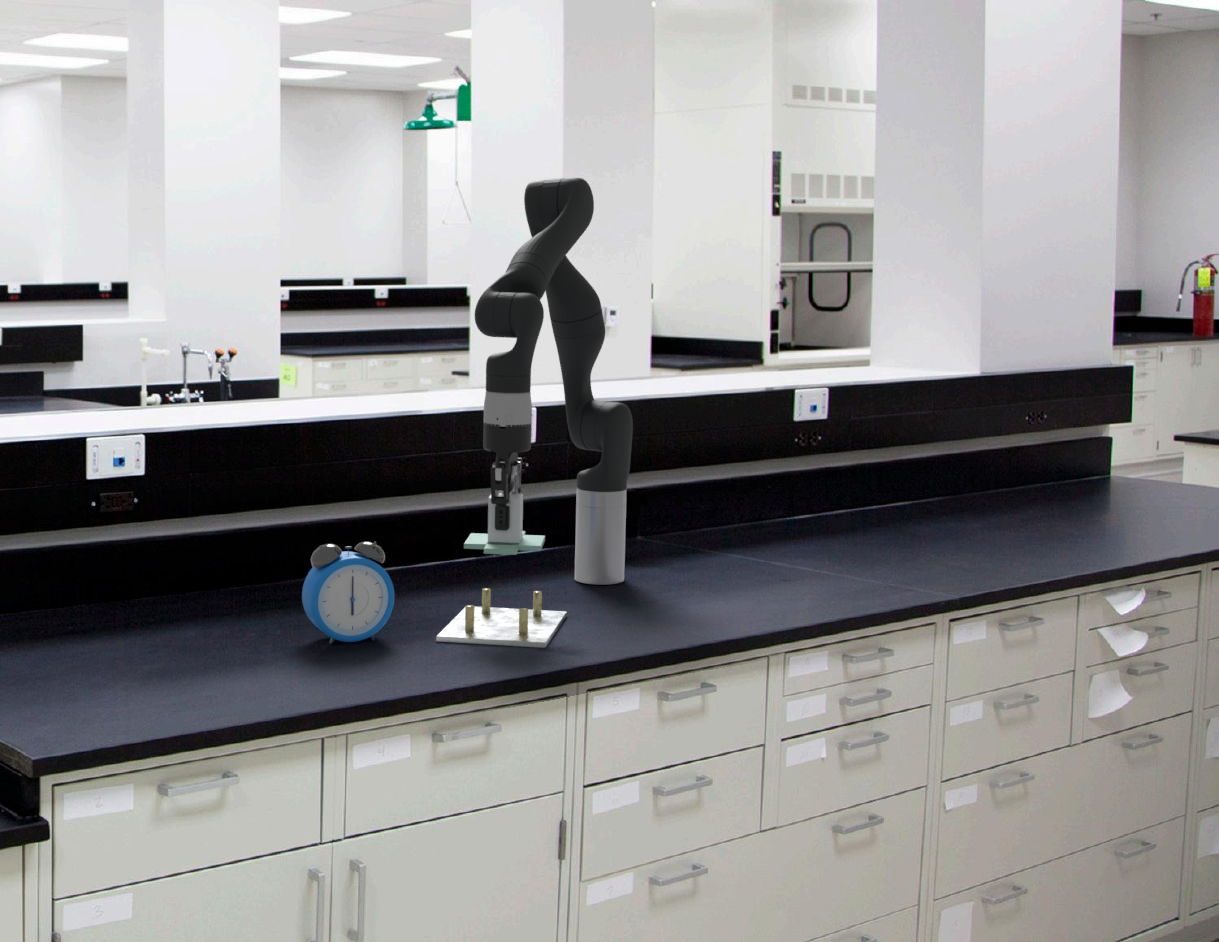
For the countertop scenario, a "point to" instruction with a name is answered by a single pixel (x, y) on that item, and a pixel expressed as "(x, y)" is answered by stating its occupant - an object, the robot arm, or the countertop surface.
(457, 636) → the chassis plate
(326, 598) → the alarm clock
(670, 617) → the countertop surface
